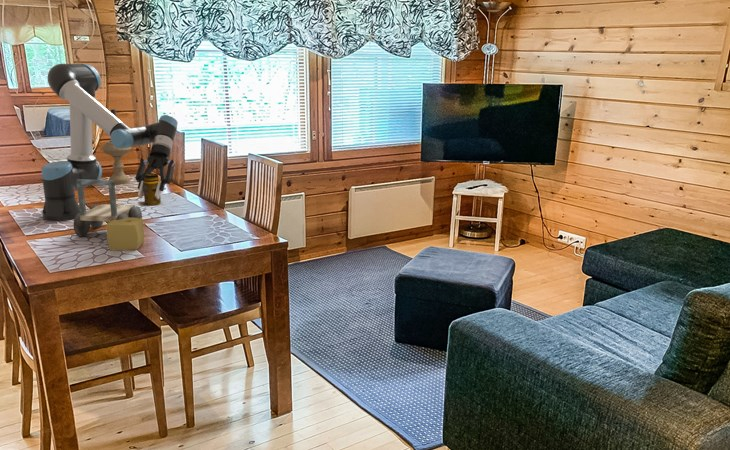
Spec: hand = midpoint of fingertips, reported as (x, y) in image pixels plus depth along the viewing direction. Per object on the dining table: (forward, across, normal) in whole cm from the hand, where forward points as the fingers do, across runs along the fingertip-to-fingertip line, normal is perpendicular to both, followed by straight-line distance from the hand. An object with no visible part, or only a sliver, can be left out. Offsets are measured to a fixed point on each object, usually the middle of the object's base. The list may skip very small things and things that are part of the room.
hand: (148, 196), depth 223 cm
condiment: (0, -1, +5) cm, 5 cm away
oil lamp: (-55, -55, +79) cm, 111 cm away
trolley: (+9, -18, +13) cm, 24 cm away
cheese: (+21, -4, +2) cm, 22 cm away
